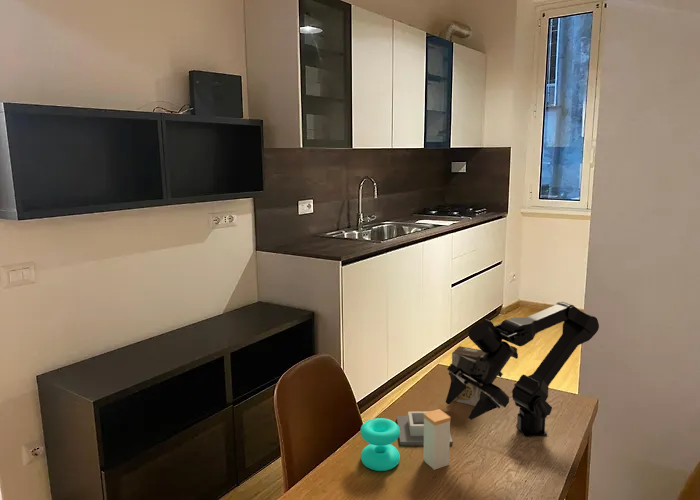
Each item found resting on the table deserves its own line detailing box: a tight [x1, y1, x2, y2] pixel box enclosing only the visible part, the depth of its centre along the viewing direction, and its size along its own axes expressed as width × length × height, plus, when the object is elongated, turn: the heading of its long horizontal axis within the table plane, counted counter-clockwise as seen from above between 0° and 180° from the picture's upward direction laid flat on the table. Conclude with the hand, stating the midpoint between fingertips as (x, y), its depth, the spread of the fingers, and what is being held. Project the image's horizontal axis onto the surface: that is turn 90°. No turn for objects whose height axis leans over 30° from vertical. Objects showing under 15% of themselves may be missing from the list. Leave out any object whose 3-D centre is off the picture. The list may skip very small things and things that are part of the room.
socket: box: [396, 410, 454, 446], centre depth 152 cm, size 14×14×4 cm
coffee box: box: [451, 345, 486, 407], centre depth 169 cm, size 9×6×16 cm
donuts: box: [359, 417, 401, 472], centre depth 138 cm, size 10×10×10 cm
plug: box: [423, 408, 452, 471], centre depth 137 cm, size 5×5×13 cm
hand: (457, 410), depth 139 cm, fingers open, 9 cm apart
